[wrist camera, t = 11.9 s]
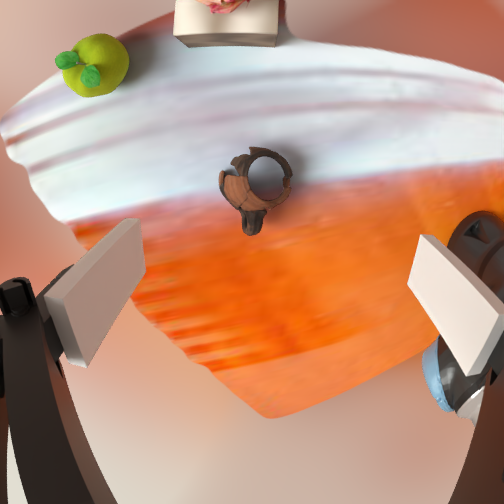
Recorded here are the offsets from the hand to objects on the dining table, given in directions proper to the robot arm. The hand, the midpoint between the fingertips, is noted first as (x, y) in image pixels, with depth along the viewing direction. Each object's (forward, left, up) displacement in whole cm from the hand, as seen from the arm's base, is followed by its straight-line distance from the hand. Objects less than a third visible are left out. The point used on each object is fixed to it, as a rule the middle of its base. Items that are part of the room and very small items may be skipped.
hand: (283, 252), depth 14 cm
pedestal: (+6, -22, -32) cm, 39 cm away
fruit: (+24, -14, -32) cm, 42 cm away
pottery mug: (+2, +4, -32) cm, 32 cm away
